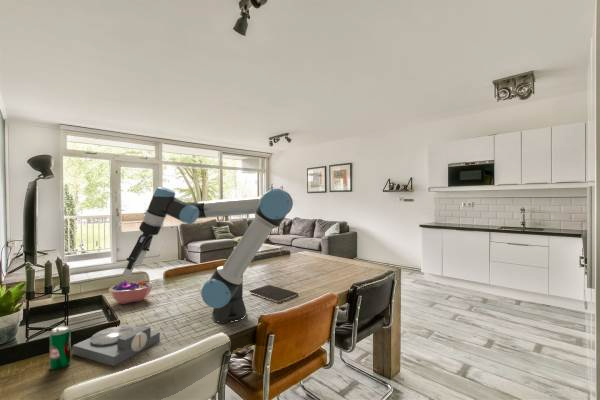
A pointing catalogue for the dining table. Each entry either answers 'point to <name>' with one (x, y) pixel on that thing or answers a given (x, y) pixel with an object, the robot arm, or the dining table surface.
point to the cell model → (130, 291)
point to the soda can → (60, 347)
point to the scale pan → (109, 335)
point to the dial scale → (118, 346)
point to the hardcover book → (274, 293)
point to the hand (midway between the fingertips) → (132, 269)
